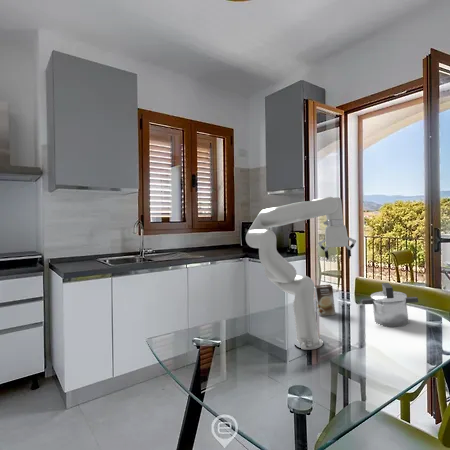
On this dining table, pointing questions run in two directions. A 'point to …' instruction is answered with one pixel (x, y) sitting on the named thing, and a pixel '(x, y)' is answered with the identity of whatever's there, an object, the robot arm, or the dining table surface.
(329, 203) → the robot arm
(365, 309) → the dining table surface
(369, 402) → the dining table surface
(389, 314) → the pot
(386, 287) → the lid
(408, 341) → the dining table surface
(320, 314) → the coffee box
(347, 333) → the dining table surface
